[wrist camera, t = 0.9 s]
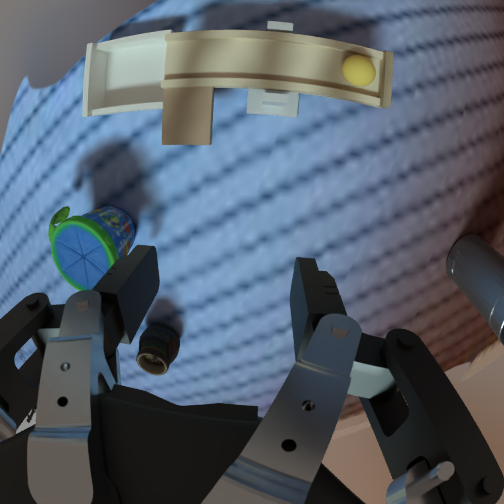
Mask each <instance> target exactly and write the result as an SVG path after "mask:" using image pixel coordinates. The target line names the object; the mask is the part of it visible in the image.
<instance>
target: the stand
mask: <svg viewBox="0 0 504 504" xmlns="http://www.w3.org/2000/svg"><path fill="white" fill-rule="evenodd" d="M267 31H272V32H283V33H292V32H293V23H286V22H275V21H268V25H267ZM298 99H299V93H294V92H285V91H275V90H262V89H248V101H247V113H251V114H265V115H277V116H287V117H296V118H297V111H298Z"/></svg>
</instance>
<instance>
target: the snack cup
mask: <svg viewBox="0 0 504 504" xmlns="http://www.w3.org/2000/svg"><path fill="white" fill-rule="evenodd" d="M69 211H70V208H69V207H68V206H67V207H63V208H61V209H60V210H59V211H58V212H56V214H55V215H54V216H53V217H52V219H51V222H50V225H49V234H48V236H49V240H50V242H51V252H52V256H53V260H54V262H55V265H56V267H57V269H58V270H59V272H60V273H61V275H62V276H63V278H64V279H65V280H66V281H67V282H68V283H69V284H70V285H71V286H73V287H74V288H76V289H77V290H79V291H82V290H92V289H93V287H94V286H95V285H96V284H97V282H98V281H99V280H100V279H101V278H102V277H103V275H104V274H106V272H107V271H108V270H109V269H110V268H111V266H112V265H113V264H114V263H115V262H116V260H118V259H120V258H122V257H123V256H125V255H127V254H128V252H129V250H130V248H131V247H132V245H133V243H134V240H135V239H134V238H135V228H134V225H133V223H132V219H131V217H130V216H128V215H127V214H126V213H125V212H124V211H123V210H121V209H119V208H116V207H113V206H108V207H102V208H100V209H97V210H94V211H92V212H89V213H86V214H84V215H82V216H72V217H71V218H68V219H67V217H68V215H69ZM60 222H62V223H60ZM57 223H60V224H59V225H58V226H55V225H54V224H57Z"/></svg>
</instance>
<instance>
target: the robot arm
mask: <svg viewBox="0 0 504 504" xmlns="http://www.w3.org/2000/svg"><path fill="white" fill-rule="evenodd" d="M446 268H447V273H448V275H449V277H450V278H451V279H452V280H453V281H454V283H455V284H456V285H457V286H458V287H459V288H460V290H461V291H462V292H463V293H464V294H465V296H466V297H467V298H468V299H469V300H470V302H471V303H472V304H473V305H474V306H475V308H476V309H477V310H478V311H479V313H480V314H481V315H482V317H483V318H484V319H485V320H486V322H487V323H488V324H489V326H490V327H491V328H492V330H493V331H494V332H495V334H496V335H497V337H498V338H499V339H500V341H501V342H502V344H503V345H504V257H503V256H502V255H501V254H500V253H499V252H498V251H496V250H495V249H494V248H493V247H491V246H490V245H489V244H488V243H487V242H485V241H484V240H483V239H482V238H480V237H479V236H477V235H476V234H468V235H465V236H463V237H462V238H460V239H459V240H458V241H457V242H456V243H455V245H454V246H453V248H452V249H451V251H450V253H449V256H448V259H447V265H446ZM159 283H160V279H159V270H158V261H157V252H156V248H155V247H154V246H147V245H137V246H136V247H135V248H134V249H133V250H132V251H131V252H130V254H129V255H125V256H123V257H122V258H120V259H118V260H116V262H115V263H114V264H113V265H112V266H111V268H110V269H109V270H108V271H107V272H106V274H104V275H103V277H102V278H101V279H100V280H99V281H98V282H97V284H96V285H95V286H94V287H93V289H92V290H82V291H79V292H76V293H75V294H73V295H71V296H70V297H69V298H68V299H67V301H66V304H60V305H51V304H50V301H49V298H48V296H47V295H46V294H44V293H34V294H31V295H29V296H27V297H25V298H24V299H23V300H22V301H20V302H19V303H18V304H17V305H16V306H15V307H13V308H12V309H11V310H10V311H9V312H8V313H7V314H6V315H5V316H3V317H2V318H1V319H0V504H365V503H364V502H363V501H362V500H361V499H360V498H358V497H357V496H356V495H355V494H354V493H353V492H352V491H351V490H350V489H348V488H347V487H346V486H345V485H344V484H343V483H342V482H341V481H340V480H339V479H338V478H337V477H336V476H335V475H334V474H333V473H331V472H330V471H329V470H328V469H327V468H326V467H325V466H324V465H323V464H322V463H321V462H322V460H323V457H324V455H325V453H326V450H327V448H328V445H329V443H330V440H331V438H332V435H333V432H334V430H335V427H336V424H337V422H338V419H339V416H340V413H341V410H342V407H343V405H344V402H345V398H346V395H347V394H351V395H356V396H359V398H360V401H361V403H362V405H363V408H364V410H365V412H366V415H367V417H368V419H369V422H370V424H371V427H372V429H373V431H374V434H375V436H376V439H377V441H378V443H379V446H380V448H381V451H382V453H383V456H384V458H385V461H386V463H387V466H388V468H389V470H390V473H391V476H392V479H393V481H392V482H391V484H390V485H389V487H388V489H387V494H386V504H495V503H496V502H497V501H498V500H499V499H500V497H501V495H502V492H503V489H504V477H503V474H502V472H501V469H500V468H499V465H498V463H497V461H496V459H495V457H494V455H493V453H492V451H491V450H490V448H489V446H488V444H487V442H486V440H485V438H484V437H483V435H482V433H481V431H480V429H479V428H478V426H477V424H476V422H475V421H474V419H473V417H472V416H471V414H470V412H469V411H468V409H467V407H466V406H465V404H464V402H463V401H462V399H461V398H460V396H459V395H458V393H457V391H456V390H455V388H454V387H453V385H452V384H451V382H450V381H449V379H448V378H447V376H446V374H445V373H444V372H443V370H442V369H441V367H440V366H439V364H438V363H437V361H436V360H435V358H434V357H433V356H432V354H431V353H430V351H429V350H428V348H427V347H426V346H425V344H424V343H423V341H422V340H421V339H420V338H419V337H418V336H417V335H416V334H415V333H413V332H411V331H409V330H406V329H393V330H391V331H389V332H388V334H387V335H386V338H385V339H384V338H380V337H375V336H371V335H367V334H365V333H362V330H361V327H360V325H359V324H358V322H357V321H355V320H354V319H353V318H351V317H349V316H347V313H346V310H345V307H344V305H343V302H342V299H341V296H340V295H339V291H338V288H337V285H336V282H335V280H334V278H333V277H332V276H331V275H330V274H329V273H328V272H327V271H319V270H318V267H317V263H316V260H315V258H302V257H297V258H296V260H295V266H294V273H293V279H292V285H291V292H290V309H291V318H292V328H293V338H294V349H295V360H296V362H295V364H294V366H293V367H292V369H291V371H290V373H289V375H288V377H287V378H286V380H285V382H284V384H283V386H282V387H281V389H280V391H279V393H278V394H277V396H276V398H275V400H274V401H273V403H272V405H271V406H270V408H269V410H268V411H267V413H266V415H265V416H264V418H262V417H258V406H247V405H234V404H224V403H215V404H204V405H189V406H180V405H176V404H173V403H171V402H169V401H166V400H164V399H162V398H160V397H157V396H155V395H153V394H151V393H149V392H147V391H143V390H139V389H134V388H130V387H126V386H122V385H121V376H120V362H119V352H118V349H117V347H118V345H119V343H124V344H129V345H130V344H131V342H132V340H133V338H134V336H135V334H136V332H137V330H138V328H139V327H140V325H141V323H142V321H143V319H144V317H145V315H146V313H147V311H148V309H149V307H150V305H151V304H152V302H153V300H154V298H155V296H156V294H157V292H158V289H159ZM30 338H32V340H33V342H34V344H35V346H36V347H37V350H36V351H35V352H34V353H33V354H32V355H31V356H30V357H29V359H28V360H27V361H26V362H25V363H24V364H23V365H22V366H21V367H20V369H19V370H18V369H17V367H16V365H15V363H14V357H15V354H16V353H17V352H18V350H19V349H20V348H21V347H22V346H23V345H24V344H25V343H26V342H27V341H28V340H29V339H30ZM400 391H401V392H400ZM401 393H402V394H403V396H404V398H405V399H404V398H403V396H402V394H401ZM405 400H406V401H405ZM406 402H407V403H406ZM36 403H37V413H36V424H34V425H33V426H31V427H29V428H27V429H25V430H23V431H21V432H19V433H17V434H16V430H17V429H18V427H19V426H20V425H21V423H22V422H23V420H24V419H25V418H26V416H27V415H28V414H29V412H30V411H31V410H32V408H33V407H34V406H35V404H36ZM407 404H408V405H407Z"/></svg>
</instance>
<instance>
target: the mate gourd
mask: <svg viewBox="0 0 504 504" xmlns="http://www.w3.org/2000/svg"><path fill="white" fill-rule="evenodd" d="M179 348H180V339H179V337H178V335H177V334H176V333H175V332H174V331H173V330H172V329H171V328H170V327H168V326H165V325H162V324H154V325H151V326H149V327H148V328H147V329H146V330H145V331H144V332H143V333H142V335H141V336H140V341H139V352H138V355H137V359H136V361H137V363H138V365H139V366H140V367H141V368H142V369H143V370H144V371H146V372H148V373H150V374H153V375H163V374H165V373H166V372H167V370H168V368H169V365H170V364H171V363H172V362H173V361H174V360H175V358H176V357H177V355H178V352H179Z"/></svg>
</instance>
